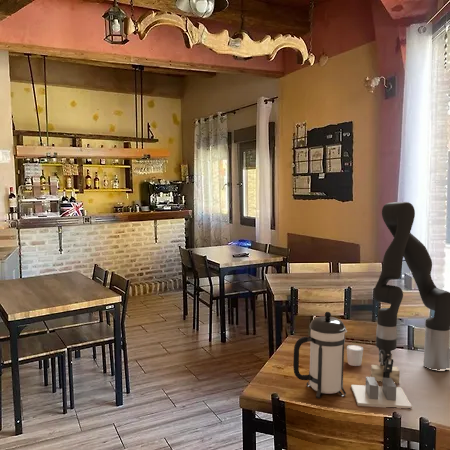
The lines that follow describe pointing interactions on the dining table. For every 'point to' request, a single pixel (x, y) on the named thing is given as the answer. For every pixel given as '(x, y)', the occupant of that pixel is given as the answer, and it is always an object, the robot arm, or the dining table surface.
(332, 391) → the coffee press
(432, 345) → the robot arm
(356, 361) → the white cup
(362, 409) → the dining table surface
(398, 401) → the bridge base
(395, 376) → the birch lintel
